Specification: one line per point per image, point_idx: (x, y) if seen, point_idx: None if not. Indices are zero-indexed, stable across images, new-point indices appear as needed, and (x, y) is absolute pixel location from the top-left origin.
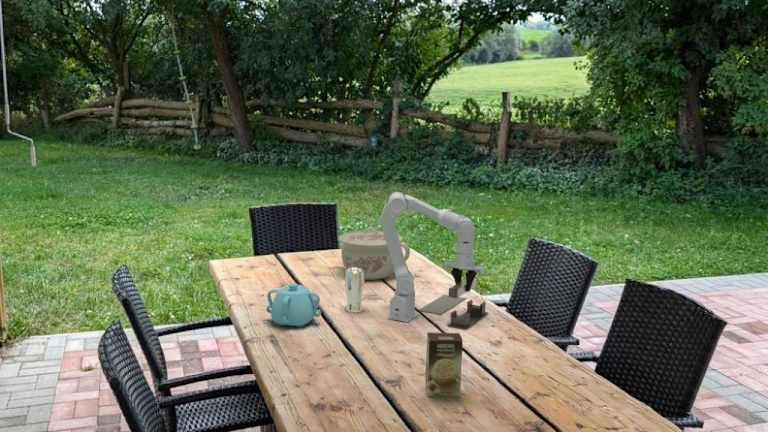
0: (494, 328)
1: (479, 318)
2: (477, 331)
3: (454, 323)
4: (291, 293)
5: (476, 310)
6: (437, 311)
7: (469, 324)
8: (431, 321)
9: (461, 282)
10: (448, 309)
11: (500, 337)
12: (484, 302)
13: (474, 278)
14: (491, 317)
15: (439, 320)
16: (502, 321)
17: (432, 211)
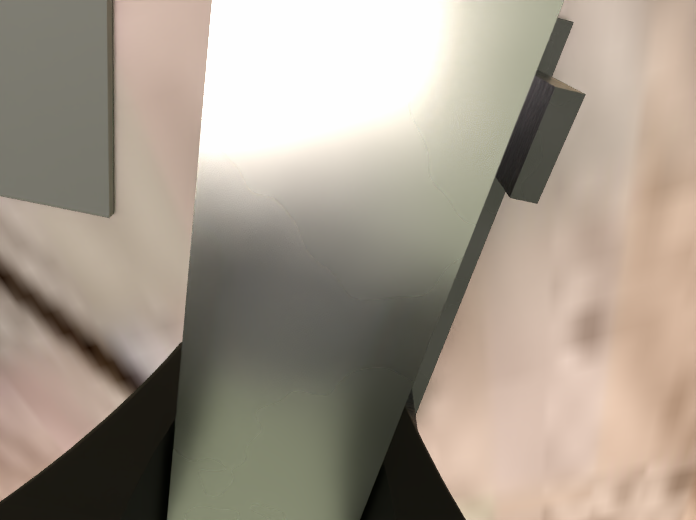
0: (597, 374)
1: (479, 248)
2: (475, 445)
3: None
4: None
5: None
6: (41, 155)
7: (411, 391)
8: (116, 365)
9: (208, 515)
10: (108, 41)
11: (621, 490)
12: (569, 99)
13: (475, 85)
14: (594, 128)
15: (160, 332)
16: (690, 210)
17: None
